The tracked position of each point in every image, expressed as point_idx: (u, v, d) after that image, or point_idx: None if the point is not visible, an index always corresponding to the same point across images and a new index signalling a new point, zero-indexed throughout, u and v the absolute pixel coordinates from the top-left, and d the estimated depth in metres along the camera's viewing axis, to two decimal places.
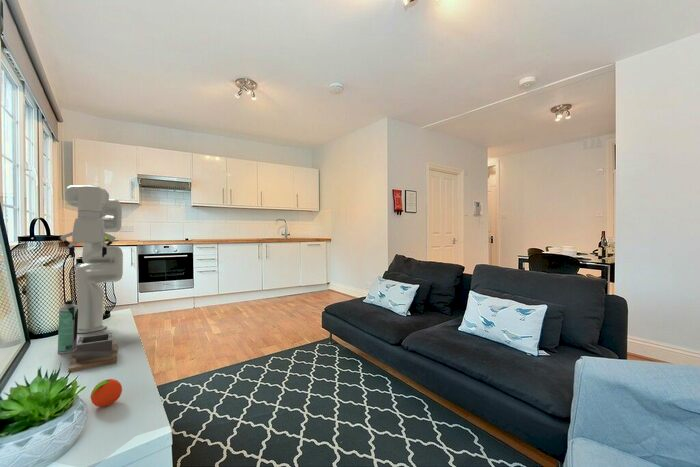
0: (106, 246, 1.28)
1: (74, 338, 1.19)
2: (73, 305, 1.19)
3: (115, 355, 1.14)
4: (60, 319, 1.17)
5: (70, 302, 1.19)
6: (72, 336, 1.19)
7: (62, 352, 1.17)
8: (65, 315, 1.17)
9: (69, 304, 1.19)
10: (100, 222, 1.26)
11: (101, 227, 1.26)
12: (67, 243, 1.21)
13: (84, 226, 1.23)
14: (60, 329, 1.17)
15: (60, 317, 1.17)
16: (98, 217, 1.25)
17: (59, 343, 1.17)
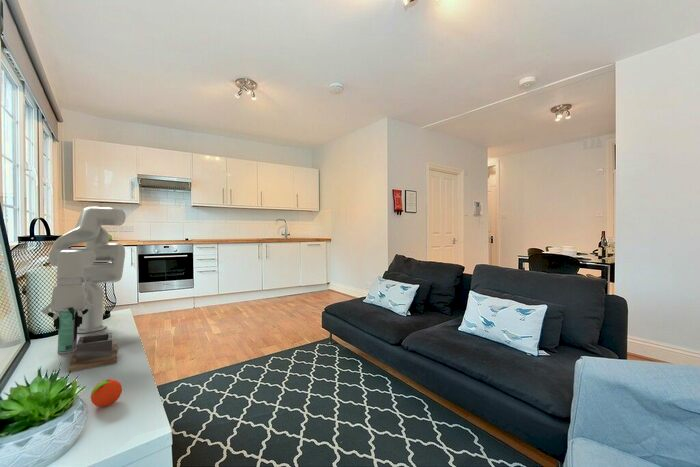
0: (81, 315, 1.21)
1: (74, 338, 1.19)
2: None
3: (115, 355, 1.14)
4: (60, 319, 1.17)
5: None
6: (72, 336, 1.19)
7: (62, 352, 1.17)
8: (65, 315, 1.17)
9: None
10: (81, 288, 1.20)
11: (82, 293, 1.20)
12: (51, 315, 1.16)
13: (64, 294, 1.17)
14: (60, 329, 1.17)
15: (60, 317, 1.17)
16: (78, 283, 1.19)
17: (59, 343, 1.17)
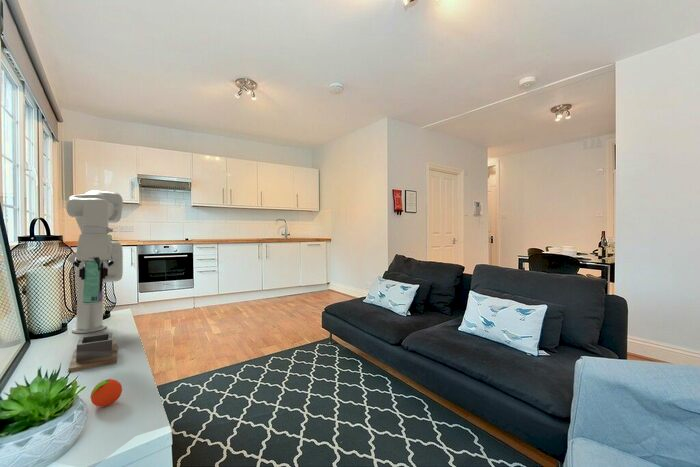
0: (107, 267, 1.17)
1: (99, 290, 1.15)
2: None
3: (115, 355, 1.14)
4: (86, 269, 1.13)
5: None
6: (98, 287, 1.14)
7: (88, 303, 1.12)
8: (91, 265, 1.13)
9: None
10: (106, 238, 1.16)
11: (108, 243, 1.16)
12: (77, 264, 1.12)
13: (89, 242, 1.12)
14: (86, 279, 1.12)
15: (85, 266, 1.13)
16: (104, 233, 1.15)
17: (85, 294, 1.12)
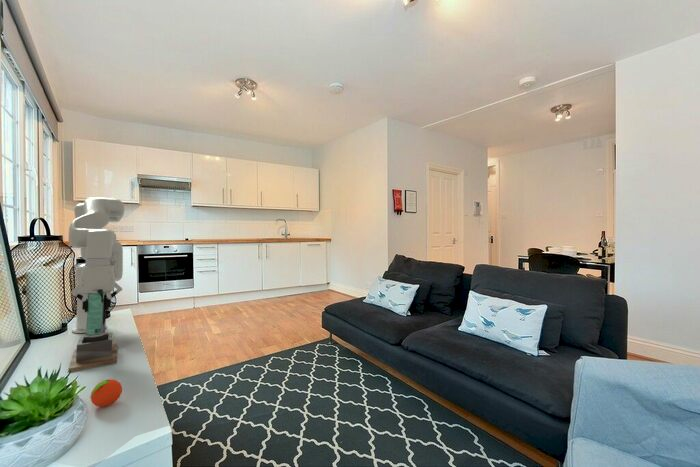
0: (110, 298, 1.16)
1: (103, 322, 1.14)
2: None
3: (115, 355, 1.14)
4: (89, 301, 1.12)
5: None
6: (101, 319, 1.14)
7: (91, 336, 1.12)
8: (94, 297, 1.12)
9: None
10: (110, 269, 1.15)
11: (111, 275, 1.15)
12: (80, 297, 1.11)
13: (93, 275, 1.12)
14: (89, 312, 1.12)
15: (89, 299, 1.12)
16: (108, 264, 1.14)
17: (88, 326, 1.12)
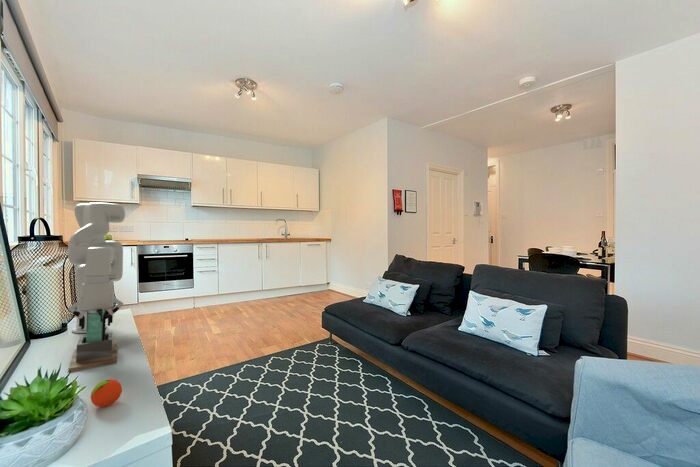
0: (112, 314, 1.16)
1: None
2: None
3: (115, 355, 1.14)
4: (88, 321, 1.12)
5: None
6: (100, 338, 1.14)
7: None
8: (94, 317, 1.12)
9: None
10: (109, 286, 1.15)
11: (110, 292, 1.15)
12: (77, 314, 1.11)
13: (92, 292, 1.12)
14: (88, 331, 1.12)
15: (88, 319, 1.12)
16: (107, 281, 1.14)
17: None
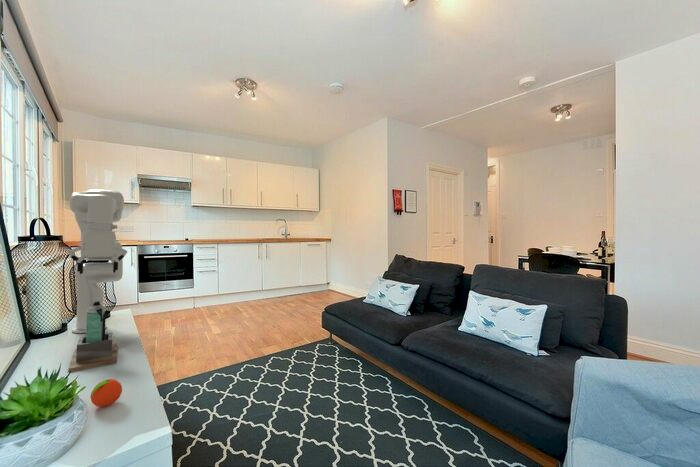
0: (117, 261, 1.17)
1: None
2: (101, 306, 1.15)
3: (115, 355, 1.14)
4: (88, 321, 1.12)
5: (98, 303, 1.14)
6: (100, 338, 1.14)
7: None
8: (94, 317, 1.12)
9: (97, 306, 1.14)
10: (111, 235, 1.15)
11: (112, 240, 1.15)
12: (75, 258, 1.10)
13: (94, 239, 1.12)
14: (88, 331, 1.12)
15: (88, 318, 1.12)
16: (109, 229, 1.14)
17: None
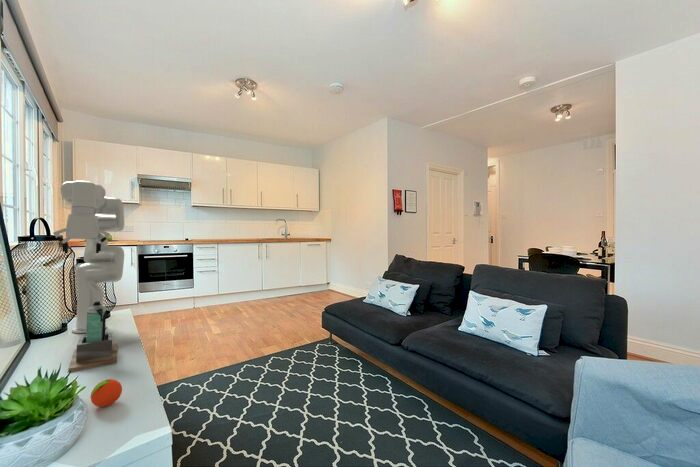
0: (100, 242, 1.27)
1: None
2: (101, 306, 1.15)
3: (115, 355, 1.14)
4: (88, 321, 1.12)
5: (98, 303, 1.14)
6: (100, 338, 1.14)
7: None
8: (94, 317, 1.12)
9: (97, 306, 1.14)
10: (94, 218, 1.25)
11: (95, 223, 1.25)
12: (60, 239, 1.20)
13: (78, 221, 1.22)
14: (88, 331, 1.12)
15: (88, 318, 1.12)
16: (92, 213, 1.24)
17: None
